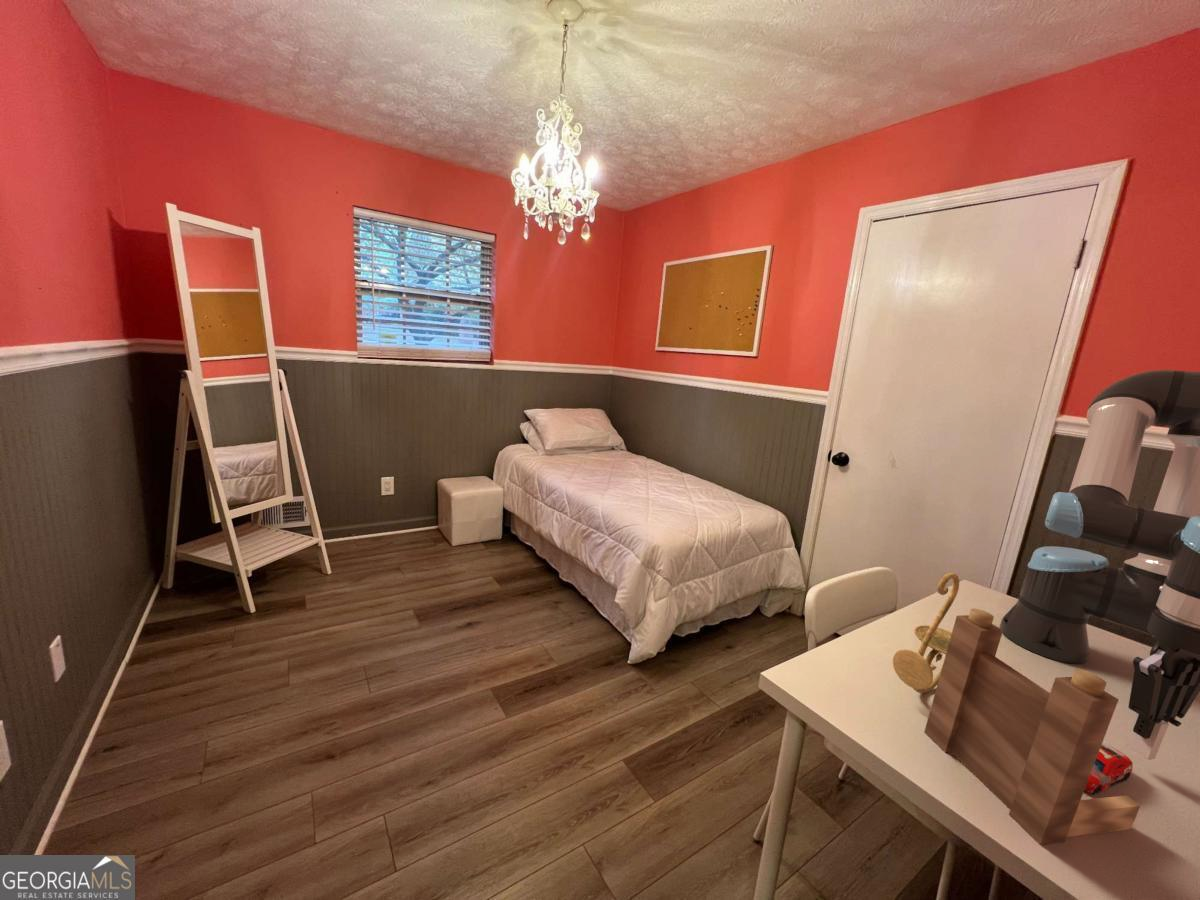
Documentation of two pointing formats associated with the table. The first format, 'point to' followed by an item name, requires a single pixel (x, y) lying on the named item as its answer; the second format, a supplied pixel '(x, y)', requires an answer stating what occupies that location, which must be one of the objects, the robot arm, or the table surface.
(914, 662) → the wall sconce
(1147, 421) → the robot arm
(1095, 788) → the race car
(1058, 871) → the table surface
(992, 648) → the headboard
